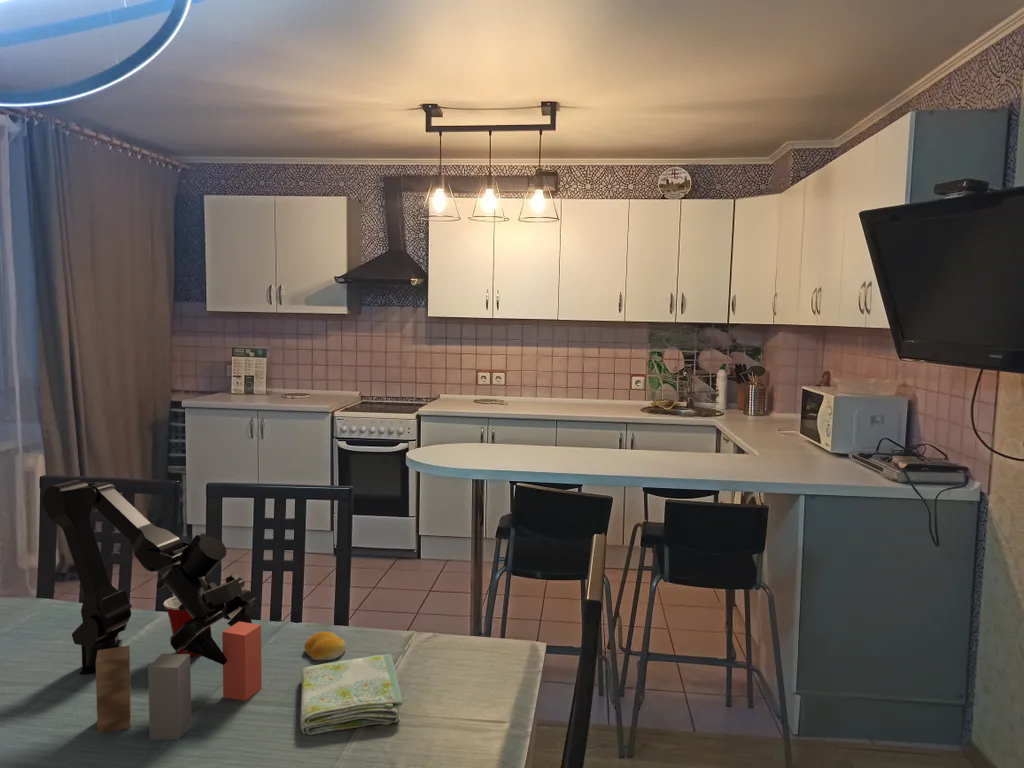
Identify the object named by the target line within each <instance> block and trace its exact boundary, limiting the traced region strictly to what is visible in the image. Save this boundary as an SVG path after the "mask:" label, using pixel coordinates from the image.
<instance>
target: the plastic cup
mask: <svg viewBox="0 0 1024 768" xmlns="http://www.w3.org/2000/svg"><path fill="white" fill-rule="evenodd" d="M180 605H181V603H180V601H179V600H178V599H177V598H176V596H175V595H174V596H173V597H169V598H168V599H165V600H164V602H163V606H164V608H165V609H166V613H167V614H168V618H169V622H170V628H171V633H172V635H173V634H174V633H175V632H176V631H177V630H178V629H179V628H180V627H181V626H182V625H183V624H184V623H186V622H188V621H189V620H191V619H193V618H192V617H191V615H190V614H189V613H188V612H187V610H184V611H182V612H181V611H180V610H179V608H178V607H179V606H180ZM209 621H210V620H209ZM211 626H212V625H210V626H209V627H211ZM207 628H208V627H207ZM207 628H205V629H207ZM185 647H186V646H185ZM185 647H184V648H185ZM184 648H182V649H180V650H179V651H177V654H190V658H192V656H194V657H197V656H198V655H197V654H194V653H191V652H188V651H186V652H183V651H182V650H183V649H184Z"/></svg>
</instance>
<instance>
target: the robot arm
mask: <svg viewBox="0 0 1024 768" xmlns="http://www.w3.org/2000/svg"><path fill="white" fill-rule="evenodd" d="M41 501H42V506H43V508H44V509H45V512H46V513H47V516H48V518H49V519H50V520H51V521H52V522H53V523H55V524H56V525H57V526H59V527H60V528H61V529H62V531H63V534H64V537H65V540H66V542H67V546H68V549H69V552H70V555H71V559H72V561H73V563H74V567H75V571H76V573H77V576H78V579H79V582H80V585H81V588H82V590H83V595H84V597H83V601H82V605H81V610H80V614H81V618H82V623H81V624H80V625H79V626H78V627H76V629H74V631H73V632H72V633H71V638H72V640H73V643H74V644H75V645H80V646H81V667H80V669H79V675H83V674H94V673H95V674H96V658H97V652H98V650H103V649H110V648H116V647H123V640H122V639H120V636H119V635H120V633H121V632H124V631H125V630H126V628H127V625H128V622H129V621H130V619H131V618H132V610H131V609H132V607H133V605H132V604H131V602H130V601H129V597H128V593H127V591H126V590H125V589H122V590H119V589H117V588H116V587H114V585H112V582H111V580H110V576H109V573H108V571H107V568H106V565H105V561H104V559H103V556H102V553H101V550H100V547H99V543H98V541H97V537H96V535H95V531H94V528H93V526H92V522H91V517H92V512H93V508H94V509H96V510H97V511H98V513H99V514H101V515H102V516H103V517H104V518H105V519H106V520H107V521H108V523H110V524H111V525H112V526H113V527H114V528H115V529H116V530H117V531H118V532H120V533H121V534H122V535H123V537H125V538H126V539H127V540H128V541H129V542H130V544H131V545H132V550H133V555H134V557H135V558H136V559H137V561H138V562H139V563H140V565H141V566H142V567H143V568H144V569H145V570H146V571H148V572H150V573H152V572H159V571H161V570H163V569H165V568H167V567H170V566H171V567H170V568H169V569H168V570H167V571H164V572H162V573H161V572H160V573H159V574H157V582H156V589H157V590H160V589H162V588H164V587H166V586H167V587H168V589H169V590H170V592H172V594H173V595H174V597H175V596H176V598H177V599H178V600H179V601H180V603H181V605H180V606H179V607H178V608H179V610H180V611H181V612H182V611H184V610H187V612H188V613H189V614H190V615H191V617H192V618H193V619H191V620H189V621H188V622H186V623H184V624H183V625H182V626H181V627H180V628H179V629H178V630H177V631H176V632H175V633H174V634H173V633H172V635H171V636H170V638H169V639H170V641H169V642H170V645H171V648H173V649H174V651H175V652H177V651H179V650H180V649H182V648H184V647H185V646H186V647H185V648H184V649H183V650H182V651H183V652H186V651H188V652H191V653H194V654H197V656H201V657H203V658H206V659H207V660H211V661H213V662H215V663H217V664H220V665H222V666H223V665H224V664H226V663H227V659H226V657H225V655H224V654H223V650H221V648H220V647H219V646H218V644H217V643H216V641H215V640H214V639H213V635H212V627H211V626H212V625H214V624H215V623H217V622H219V621H220V620H222V619H224V620H228V622H227V625H228V626H229V627H231V626H233V625H234V624H236V623H237V622H239V621H240V622H246V623H252V624H253V622H252V617H251V610H252V607H253V605H254V602H253V601H254V600H255V599H256V597H255V595H254V594H253V593H252V592H251V591H250V590H247V589H243V588H244V587H245V584H246V583H245V580H244V579H243V577H241V575H240V574H239V573H237V572H235V573H233V574H231V575H228V576H227V577H226V578H225V582H224V583H222V584H220V585H217V584H216V583H215V582H213V581H210V582H206V580H205V579H204V577H207V576H208V575H209V574H210V573H211V572H212V571H213V570H214V569H215V568H216V567H217V566H218V564H220V563H221V562H222V561H223V560H224V559H225V557H226V556H227V553H228V551H227V547H226V545H225V543H224V542H223V541H221V540H219V539H217V538H216V537H213V536H210V535H209V536H208V535H207V534H206V533H205V532H204V531H203V532H201V533H198V534H196V535H195V536H194V538H193V539H192V540H191V542H187V541H183V540H181V538H180V537H178V536H177V535H175V534H174V533H172V532H171V531H169V530H168V529H166V528H162V527H158V526H156V525H154V524H152V523H151V522H150V521H149V520H148V519H147V518H146V517H145V516H143V514H142V513H141V512H139V510H137V508H135V507H134V506H133V505H132V504H131V503H130V502H129V501H128V499H125V497H124V496H123V495H122V494H121V493H120V492H118V491H117V488H116V486H115V485H114V484H113V483H112V482H110V481H109V482H108V481H103V482H84V481H82V480H81V479H75V480H70V481H67V482H63V483H58V484H55V485H51V486H48V487H47V488H45V491H44V493H43V495H42V497H41ZM209 620H210V621H209ZM210 625H211V626H210ZM209 626H210V627H209ZM207 627H208V628H207ZM205 628H207V629H205ZM177 653H178V652H177Z"/></svg>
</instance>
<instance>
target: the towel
mask: <svg viewBox="0 0 1024 768" xmlns="http://www.w3.org/2000/svg"><path fill="white" fill-rule="evenodd" d="M396 671H397V670H396V666H395V664H394V659H393V657H392V654H391V653H386V654H377V655H371V656H365V657H359V658H351V659H345V660H339V661H333V662H332V661H331V662H328V663H327V662H326V663H321V664H317V665H316V664H315V665H309V666H307V667H304V668H302V669H301V671H300V672H301V696H300V698H301V701H300V703H301V705H300V730H301V732H302V734H304V735H305V734H307V735H309V736H310V735H316V734H320V733H321V734H322V733H326V732H327V733H328V732H333V731H342V730H347V729H354V728H361V727H365V726H373V725H381V724H382V725H383V726H384V725H385V726H386V725H387V726H388V725H392V723H398V722H400V720H401V717H400V716H401V715H400V713H401V712H400V706H402V705H403V697H402V692H401V688H400V684H399V680H398V674H397V672H396Z"/></svg>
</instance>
